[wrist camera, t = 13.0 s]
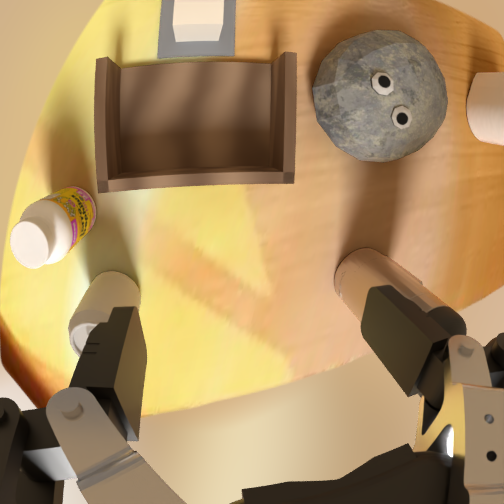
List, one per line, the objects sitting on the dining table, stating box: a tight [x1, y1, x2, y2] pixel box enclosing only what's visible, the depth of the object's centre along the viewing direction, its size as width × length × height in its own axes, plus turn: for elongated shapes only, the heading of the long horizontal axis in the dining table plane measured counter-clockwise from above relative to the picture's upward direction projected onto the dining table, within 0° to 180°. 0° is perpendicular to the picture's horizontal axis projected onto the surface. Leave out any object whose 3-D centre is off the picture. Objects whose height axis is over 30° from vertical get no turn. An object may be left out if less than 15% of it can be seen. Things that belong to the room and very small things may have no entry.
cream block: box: [173, 0, 224, 42], centre depth 24 cm, size 5×5×6 cm
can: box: [68, 271, 141, 357], centre depth 33 cm, size 8×8×12 cm
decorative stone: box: [312, 30, 448, 163], centre depth 30 cm, size 18×21×10 cm
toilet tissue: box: [466, 72, 504, 146], centre depth 33 cm, size 11×12×10 cm
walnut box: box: [94, 52, 297, 193], centre depth 29 cm, size 20×14×7 cm
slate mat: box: [158, 0, 236, 58], centre depth 27 cm, size 9×9×1 cm
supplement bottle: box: [10, 186, 96, 269], centre depth 27 cm, size 7×7×13 cm
